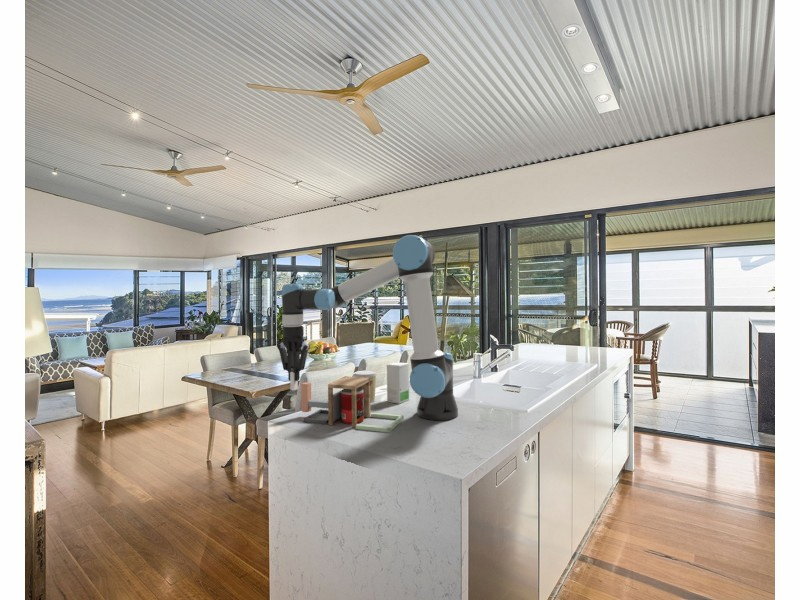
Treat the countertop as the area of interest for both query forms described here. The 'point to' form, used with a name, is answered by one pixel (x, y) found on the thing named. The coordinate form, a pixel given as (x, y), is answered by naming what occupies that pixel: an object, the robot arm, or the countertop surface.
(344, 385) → the tunnel
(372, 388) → the coffee cup
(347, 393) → the canned food
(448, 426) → the countertop surface
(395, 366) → the skincare box
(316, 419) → the tray
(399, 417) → the bay
